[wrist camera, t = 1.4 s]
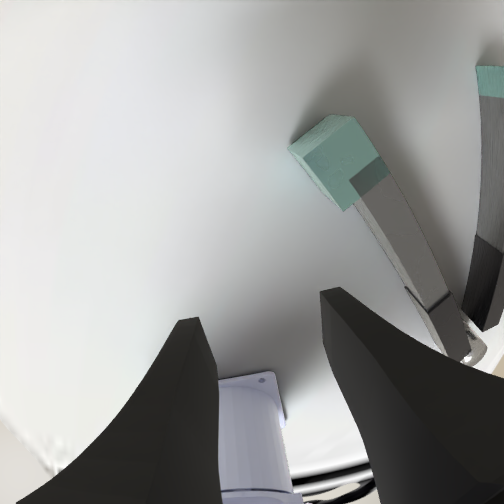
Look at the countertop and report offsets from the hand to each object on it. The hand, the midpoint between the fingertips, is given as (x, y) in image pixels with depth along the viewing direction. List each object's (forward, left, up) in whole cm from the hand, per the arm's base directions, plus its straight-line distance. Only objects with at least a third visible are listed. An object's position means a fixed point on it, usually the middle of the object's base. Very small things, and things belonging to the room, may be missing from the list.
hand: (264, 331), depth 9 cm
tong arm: (+10, -5, -8) cm, 14 cm away
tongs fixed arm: (+18, -1, -8) cm, 20 cm away
